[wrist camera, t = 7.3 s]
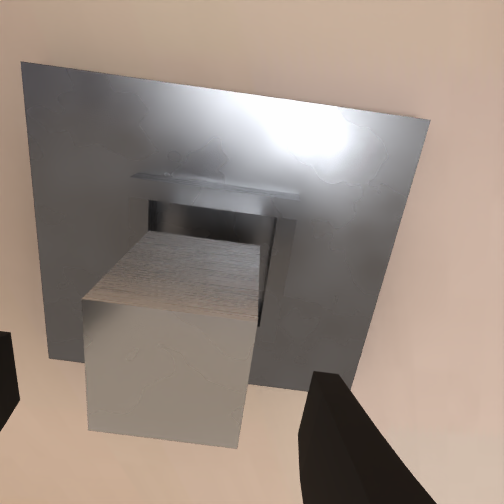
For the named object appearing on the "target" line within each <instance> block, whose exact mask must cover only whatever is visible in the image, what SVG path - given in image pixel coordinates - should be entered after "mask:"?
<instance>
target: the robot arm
mask: <svg viewBox="0 0 504 504" xmlns="http://www.w3.org/2000/svg"><path fill="white" fill-rule="evenodd" d="M19 401H20V396H19V389H18V382H17V375H16V368H15V361H14V354H13V347H12V339H11V332H3V331H0V431H1V430H2V428H3V427H4V425H5V424H6V422H7V420H8V419H9V417H10V415H11V414H12V412H13V411H14V409H15V407H16V406H17V404H18V402H19ZM298 446H299V470H300V483H301V490H302V497H303V504H436V502H435V501H434V500H433V499H432V498H431V496H430V495H429V494H428V493H427V492H426V490H425V489H424V488H423V487H422V486H421V484H420V483H419V482H418V481H417V480H416V478H415V477H414V476H413V475H412V473H411V472H410V471H409V470H408V468H407V467H406V466H405V464H404V463H403V462H402V461H401V459H400V458H399V457H398V455H397V454H396V453H395V451H394V450H393V449H392V447H391V446H390V445H389V443H388V442H387V441H386V439H385V438H384V437H383V436H382V434H381V433H380V431H379V430H378V429H377V427H376V426H375V425H374V423H373V422H372V420H371V419H370V418H369V416H368V415H367V413H366V412H365V411H364V409H363V408H362V406H361V405H360V404H359V402H358V401H357V399H356V398H355V396H354V395H353V394H352V392H351V391H350V389H349V388H348V386H347V385H346V384H345V382H344V381H343V379H342V378H341V377H340V375H339V374H335V373H327V372H319V371H313V375H312V379H311V383H310V387H309V391H308V395H307V399H306V403H305V407H304V412H303V416H302V420H301V424H300V428H299V432H298Z"/></svg>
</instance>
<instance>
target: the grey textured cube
mask: <svg viewBox="0 0 504 504" xmlns="http://www.w3.org/2000/svg"><path fill="white" fill-rule="evenodd" d="M259 265H260V246H258V245H251V244H244V243H236V242H229V241H222V240H214V239H207V238H199V237H192V236H185V235H177V234H170V233H162V232H155V231H148V232H147V233H146V234H145V235H144V236H143V237H142V238H141V239H140V240H139V241H138V242H137V243H136V244H135V245H134V246H133V247H132V248H131V249H130V250H129V251H128V252H127V253H126V254H125V255H124V256H123V257H122V258H121V259H120V260H119V261H118V263H117V264H116V265H115V266H114V267H113V268H112V269H111V270H110V271H109V272H108V273H107V274H106V275H105V276H104V277H103V278H102V279H101V280H100V281H99V282H98V283H97V284H96V285H95V286H94V287H93V288H92V289H91V290H90V291H89V292H88V293H87V294H86V295H85V296H84V297H83V298H82V318H83V338H84V357H85V377H86V397H87V417H88V430H89V431H97V432H105V433H113V434H121V435H129V436H137V437H145V438H153V439H161V440H169V441H177V442H185V443H193V444H201V445H209V446H217V447H225V448H233V449H237V448H238V441H239V435H240V429H241V423H242V417H243V410H244V404H245V398H246V392H247V385H248V379H249V373H250V367H251V361H252V354H253V348H254V342H255V336H256V330H257V323H258V296H259Z"/></svg>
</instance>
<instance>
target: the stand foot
mask: <svg viewBox="0 0 504 504" xmlns="http://www.w3.org/2000/svg"><path fill="white" fill-rule="evenodd" d="M21 71H22V81H23V92H24V102H25V113H26V123H27V134H28V144H29V155H30V165H31V176H32V186H33V197H34V207H35V218H36V228H37V239H38V249H39V260H40V270H41V281H42V291H43V302H44V312H45V323H46V333H47V344H48V354H49V359H57V360H65V361H73V362H81V363H85V357H84V338H83V318H82V298H83V297H84V296H85V295H86V294H87V293H88V292H89V291H90V290H91V289H92V288H93V287H94V286H95V285H96V284H97V283H98V282H99V281H100V280H101V279H102V278H103V277H104V276H105V275H106V274H107V273H108V272H109V271H110V270H111V269H112V268H113V267H114V266H115V265H116V264H117V263H118V261H119V260H120V259H121V258H122V257H123V256H124V255H125V254H126V253H127V252H128V251H129V250H130V249H131V248H132V247H133V246H134V245H135V244H136V243H137V242H138V241H139V240H140V239H141V238H142V237H143V236H144V235H145V234H146V233H147V232H148V231H155V232H162V233H170V234H177V235H185V236H192V237H199V238H207V239H214V240H222V241H229V242H236V243H244V244H251V245H258V246H260V265H259V296H258V323H257V330H256V336H255V342H254V348H253V354H252V361H251V367H250V373H249V379H248V384H252V385H260V386H268V387H276V388H284V389H291V390H299V391H307V392H308V391H309V387H310V383H311V379H312V375H313V371H319V372H327V373H335V374H339V375H340V377H341V378H342V379H343V381H344V382H345V384H346V385H347V386H348V388H349V389H350V390H351V386H352V383H353V380H354V376H355V373H356V370H357V366H358V363H359V359H360V356H361V353H362V349H363V346H364V343H365V339H366V336H367V333H368V329H369V326H370V322H371V319H372V316H373V312H374V309H375V306H376V302H377V299H378V296H379V292H380V289H381V285H382V282H383V279H384V275H385V272H386V269H387V265H388V262H389V259H390V255H391V252H392V248H393V245H394V242H395V238H396V235H397V232H398V228H399V225H400V222H401V218H402V215H403V211H404V208H405V205H406V201H407V198H408V195H409V191H410V188H411V185H412V181H413V178H414V174H415V171H416V168H417V164H418V161H419V158H420V154H421V151H422V148H423V144H424V141H425V138H426V134H427V131H428V127H429V124H430V121H431V120H427V119H420V118H413V117H406V116H399V115H392V114H385V113H378V112H371V111H364V110H357V109H350V108H343V107H336V106H329V105H322V104H315V103H308V102H301V101H294V100H287V99H280V98H273V97H266V96H259V95H252V94H245V93H238V92H231V91H224V90H217V89H210V88H203V87H196V86H189V85H182V84H175V83H168V82H161V81H154V80H147V79H140V78H133V77H126V76H119V75H112V74H105V73H98V72H91V71H84V70H77V69H70V68H63V67H56V66H49V65H42V64H35V63H28V62H21Z"/></svg>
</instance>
